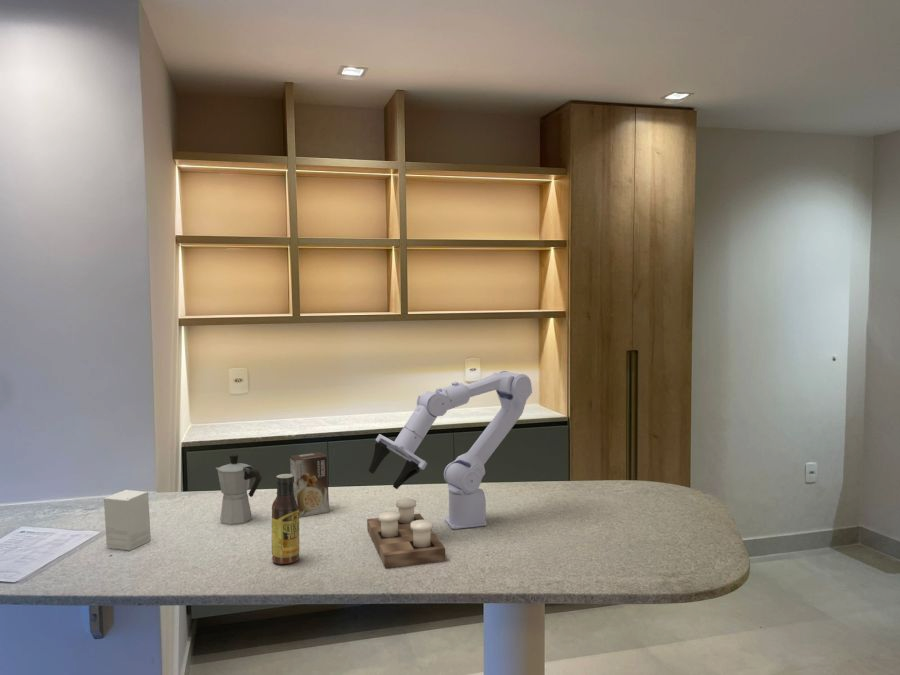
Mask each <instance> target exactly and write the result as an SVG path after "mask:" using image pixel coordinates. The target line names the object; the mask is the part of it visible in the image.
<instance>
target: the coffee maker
mask: <svg viewBox="0 0 900 675" xmlns="http://www.w3.org/2000/svg"><path fill="white" fill-rule="evenodd" d="M229 460H230V463H228V464H225V465H221V466H219V467H215V469H216V470H217V475H218V481H219V486H220V492H221V493H222V501H221V503H222V504H221V508H220V510H221V511H220V517H219V518H220V519H219V522H220V524H222V525H228V526H236V525H243V524H246V523H249V522H250V521H253V516H252V511H251V506H250V505H251V504H250V501H249V497H250V498H252V497H253V496H254V494H255V492H256V491H257V488H258V487H259V484H260V483H261V480H263V479H262V478H263V477H262V476H261V474H260V471H259V470H258V469H255V467H254V466H251V465H249V464H246V463H244V462H243V463H241V462H238V461H239V454H237V453H234V454H230V455H229ZM253 478H255V480H254V482H253V485H252V486H251V488H250V481H251V479H253ZM249 489H250V490H249ZM248 490H249V492H248Z"/></svg>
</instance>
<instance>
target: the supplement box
mask: <svg viewBox="0 0 900 675" xmlns="http://www.w3.org/2000/svg"><path fill="white" fill-rule="evenodd" d="M149 504H150V502H149V492H148V491H141V490H130V489H124V490H122V491H119V492H116V493H113V494H111V495H109V496H106V497H104V498H103V507H104V508H103V509H104V523H105V540H106V548H107V549H114V550H120V551H129V552H130V551H132V550H134V549H136V548H139V547H141V546H144V545H145V544H147V543H149V542H151V537H152V536H151V522H150V521H151V519H150V505H149Z"/></svg>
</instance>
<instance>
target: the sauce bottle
mask: <svg viewBox="0 0 900 675" xmlns="http://www.w3.org/2000/svg"><path fill="white" fill-rule="evenodd" d="M275 482H276V497H275V499H274V501H273V502H272V506H271V555H272V557H271V559H272V562H273V563H275V564H276V565H289V564H292V563H295V562H297V561H298V560H299V558H300V517H299V508H298V506H297V503H296V500H295V496H294V491H293V482H294V475H293V474H291V473H281V474H278V475H276V476H275Z"/></svg>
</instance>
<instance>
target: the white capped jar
mask: <svg viewBox="0 0 900 675" xmlns="http://www.w3.org/2000/svg"><path fill="white" fill-rule="evenodd" d="M395 507H396V508H398V511H397V512H399V513H400V519H399V522H400V523H411V522H413V521H414V514H415V508H416V507H417V500H416V499H415V498H414V499H413V498H407V497H406V498H400V499H397V500H396V501H395Z"/></svg>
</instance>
